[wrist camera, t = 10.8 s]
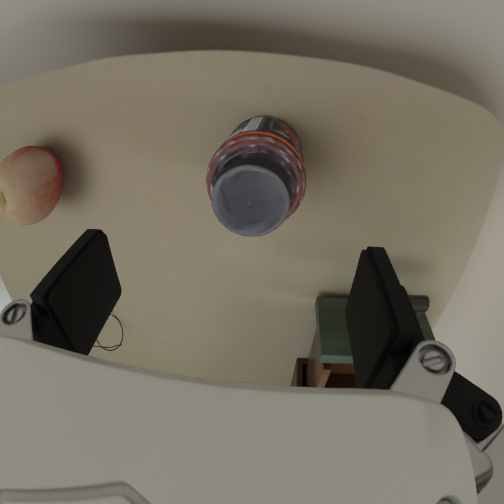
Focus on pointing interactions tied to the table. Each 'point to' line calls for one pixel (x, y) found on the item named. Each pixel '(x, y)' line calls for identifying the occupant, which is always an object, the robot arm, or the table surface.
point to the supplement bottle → (257, 177)
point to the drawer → (343, 343)
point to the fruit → (30, 184)
